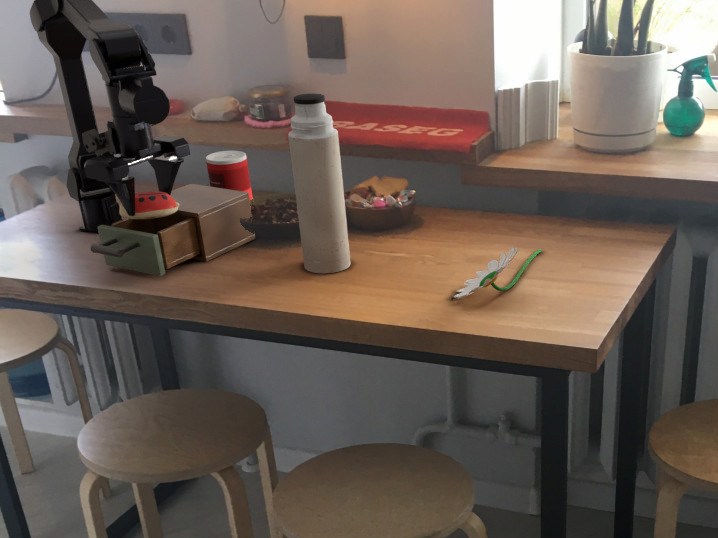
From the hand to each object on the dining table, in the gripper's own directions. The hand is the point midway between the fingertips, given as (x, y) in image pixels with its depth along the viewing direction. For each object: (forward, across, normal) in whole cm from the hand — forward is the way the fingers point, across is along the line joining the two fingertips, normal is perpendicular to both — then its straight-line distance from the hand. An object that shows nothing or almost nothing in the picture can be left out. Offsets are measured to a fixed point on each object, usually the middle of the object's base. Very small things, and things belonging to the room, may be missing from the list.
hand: (148, 209), depth 172 cm
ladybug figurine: (+1, 0, 0) cm, 1 cm away
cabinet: (+10, -11, 0) cm, 15 cm away
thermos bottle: (+10, -12, +27) cm, 31 cm away
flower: (+10, -18, +60) cm, 63 cm away
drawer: (+9, +3, 0) cm, 9 cm away
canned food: (+10, -29, -7) cm, 31 cm away
